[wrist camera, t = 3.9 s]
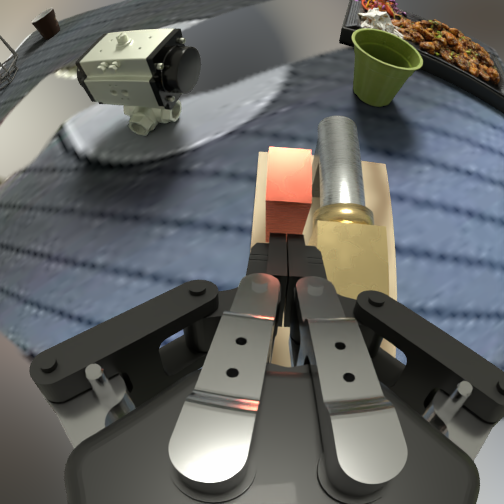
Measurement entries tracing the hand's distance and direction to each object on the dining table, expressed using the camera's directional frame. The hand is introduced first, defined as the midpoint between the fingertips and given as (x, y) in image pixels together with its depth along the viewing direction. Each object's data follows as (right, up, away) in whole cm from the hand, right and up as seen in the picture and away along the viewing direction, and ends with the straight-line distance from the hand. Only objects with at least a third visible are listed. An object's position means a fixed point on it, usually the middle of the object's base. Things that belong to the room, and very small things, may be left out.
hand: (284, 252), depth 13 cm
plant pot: (+20, +28, +32) cm, 47 cm away
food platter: (+42, +49, +38) cm, 75 cm away
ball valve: (-18, +22, +31) cm, 42 cm away
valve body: (+6, -1, +21) cm, 22 cm away
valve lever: (+1, -2, +14) cm, 14 cm away
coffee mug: (-70, +76, +51) cm, 115 cm away
